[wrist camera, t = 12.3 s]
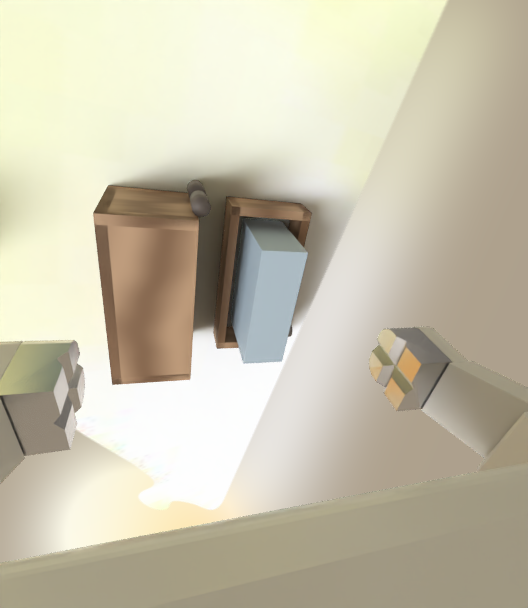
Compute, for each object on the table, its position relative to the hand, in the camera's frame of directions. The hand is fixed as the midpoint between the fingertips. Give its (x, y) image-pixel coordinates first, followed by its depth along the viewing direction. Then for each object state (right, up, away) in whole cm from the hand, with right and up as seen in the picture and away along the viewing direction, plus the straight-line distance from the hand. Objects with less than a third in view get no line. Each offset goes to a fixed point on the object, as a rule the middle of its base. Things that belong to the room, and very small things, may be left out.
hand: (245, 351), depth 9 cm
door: (-1, +5, +28) cm, 28 cm away
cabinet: (-5, +5, +26) cm, 27 cm away
